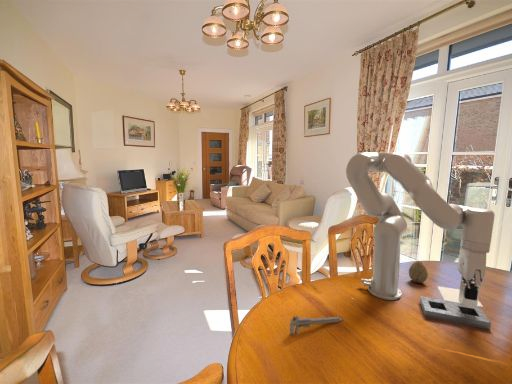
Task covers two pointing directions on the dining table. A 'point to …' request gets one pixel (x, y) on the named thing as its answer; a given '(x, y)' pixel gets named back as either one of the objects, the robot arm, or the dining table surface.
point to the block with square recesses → (454, 313)
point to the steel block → (462, 299)
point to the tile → (452, 294)
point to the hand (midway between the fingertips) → (468, 295)
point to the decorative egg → (418, 272)
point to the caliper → (309, 322)
